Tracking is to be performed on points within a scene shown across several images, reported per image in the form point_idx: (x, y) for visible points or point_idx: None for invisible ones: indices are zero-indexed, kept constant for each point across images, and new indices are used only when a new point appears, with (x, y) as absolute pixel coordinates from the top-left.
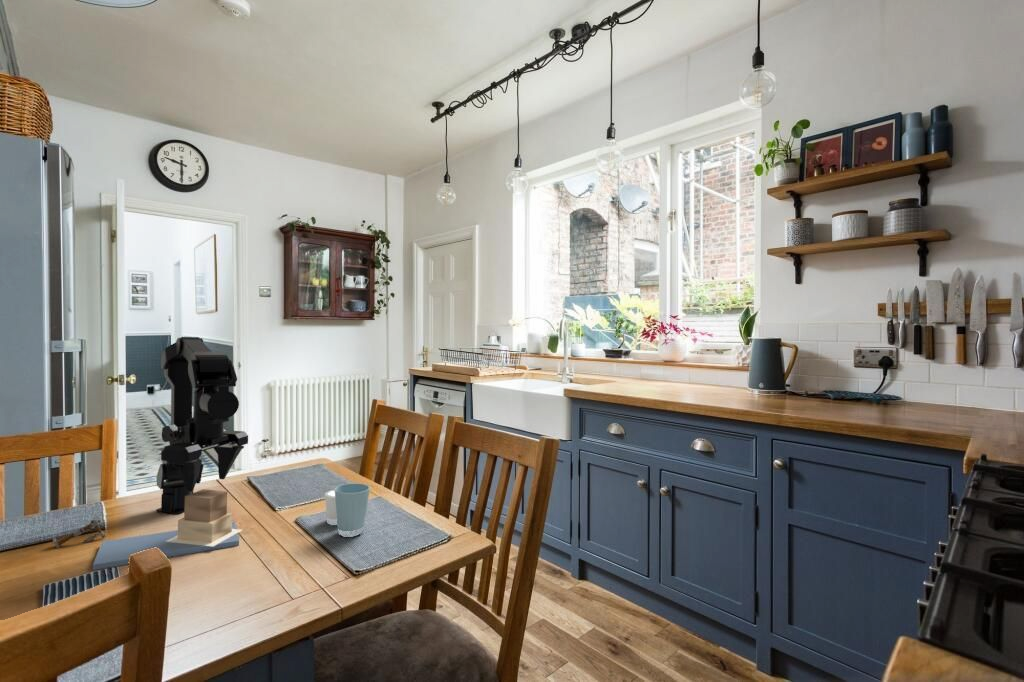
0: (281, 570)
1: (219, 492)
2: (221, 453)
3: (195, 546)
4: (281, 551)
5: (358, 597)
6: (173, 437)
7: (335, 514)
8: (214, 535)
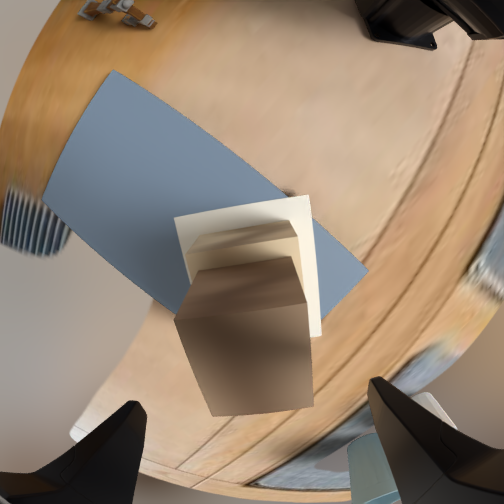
0: (216, 448)
1: (289, 397)
2: (442, 498)
3: None
4: (270, 425)
5: (211, 491)
6: None
7: None
8: None
